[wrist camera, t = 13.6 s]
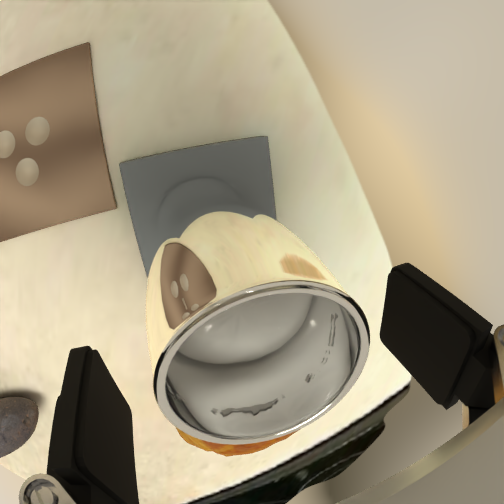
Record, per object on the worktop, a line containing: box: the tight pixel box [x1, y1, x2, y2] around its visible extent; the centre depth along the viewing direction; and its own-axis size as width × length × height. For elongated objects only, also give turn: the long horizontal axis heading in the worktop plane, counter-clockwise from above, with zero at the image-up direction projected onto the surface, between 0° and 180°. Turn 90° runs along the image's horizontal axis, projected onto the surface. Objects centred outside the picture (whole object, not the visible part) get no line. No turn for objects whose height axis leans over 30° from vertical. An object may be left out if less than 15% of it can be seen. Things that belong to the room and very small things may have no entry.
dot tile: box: [0, 42, 117, 242], centre depth 17 cm, size 12×12×1 cm
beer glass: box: [146, 178, 370, 445], centre depth 15 cm, size 7×7×15 cm
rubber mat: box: [119, 136, 277, 278], centre depth 22 cm, size 10×10×1 cm
